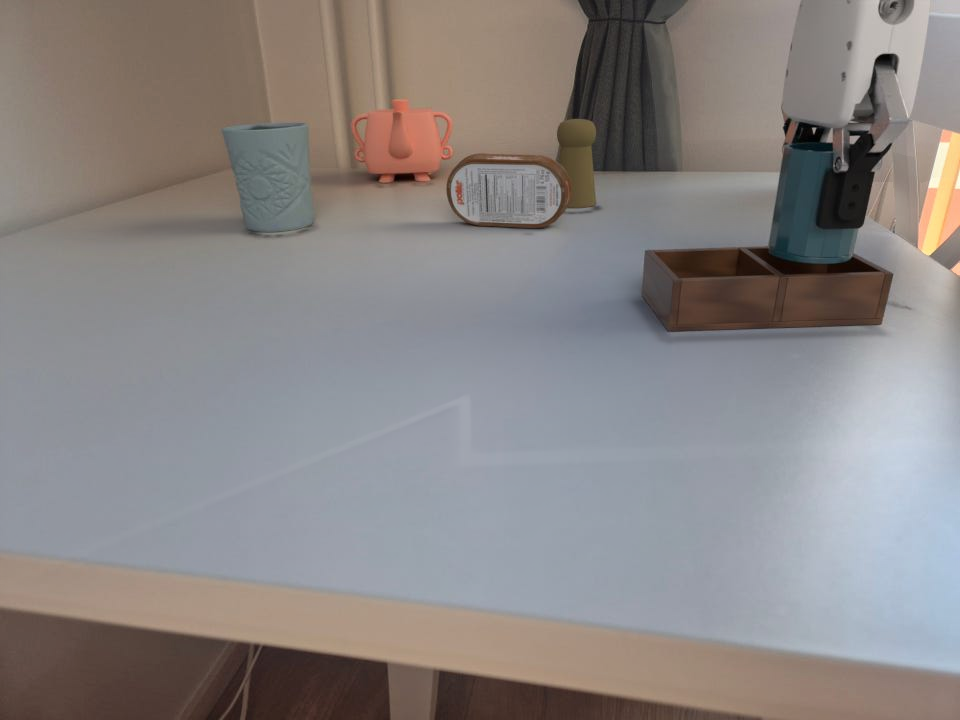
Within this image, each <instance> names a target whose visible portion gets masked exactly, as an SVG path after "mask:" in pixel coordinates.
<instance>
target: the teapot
mask: <svg viewBox="0 0 960 720" xmlns="http://www.w3.org/2000/svg"><path fill="white" fill-rule="evenodd" d="M409 101H410V100H409V99H407V98H397V99H392V100H391V101H390V102H391V105H392V107H393V108H391V109H390V108H388V109H373V110H371V111H368V113H360V114H358V115H356V116H355V117H354V118H352V121H351V123H350V130H351V131H350V132H351V135H352V136H353V138H354V140H355V142H356V143H357V145H358V146H359V148H356V149H355V150H354V154H353V155H354V158H355V160H356V161H357V162H359V163H364V164H365V166H366V169H367V172H368V173H369V174H377V175H379V174H380V177H379V179H378V183H382V184H384V183H388V184H389V183H393V182H394V181H395V177H396V176H397V174H413V176H414V180H415V182H429V181H431V178H430V175H432V172H433V173H434V172H437V171H439V169H440V166H441V162H442V160H443V161H445V160H450V159H451V158H452V157H453V154H454V150H453V147H452V146H451V145H448V142H449V139H450V137H451V134H452V131H453V126H454V125H453V120H452V118H451V116H449V114H447V113H445V112H444V111H440V110H436V111H434V110H433V108H430V107H426V108H425V107H422V108H419V107H417V108H410V102H409ZM436 118H442V119H444V120H445V121H446V131H445V133H444V135H443V137H442V139H441V136H440V130H439V126H438V123H437V119H436ZM362 120H366V122H365V123H366V124H365V130H364V138H363V139H364V141H363V140H362V138H361V136H360V134H359V132H358V128H357V124H358V122H360V121H362ZM445 150H448V153H447V154H446V153H445ZM360 153H362V154H363V156H360Z"/></svg>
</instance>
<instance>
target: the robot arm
mask: <svg viewBox="0 0 960 720" xmlns="http://www.w3.org/2000/svg"><path fill="white" fill-rule="evenodd" d="M931 3H932V0H800V2H799V5H798V10H797V15H796V19H795V23H794V28H793V33H792V38H791V42H790V49H789V53H788V57H787V64H786V68H785V74H784V75H785V76H784V80H783V81H784V82H783V89H782V101H781V107H780V108H781V109H780V110H781V113H782V114H781V115H782V118H783V122H784V123H783V126H782V130H783V134H784V141H783V142H782V143H783V144H782V147H781V153H782V154H783V148H784V145H786V144H790V143H800V142H828V138H829V135H830V133H831V130H832V142H833V170H834V171H826V173H825V178H824V183H823V189H822V194H821V199H820V205H819V210H818V215H817V221H816V225H817V227H819V228H821V229H857V228H859V229H860V228H862V227H863V226H864V224H865V220H866V216H867V211H868V207H869V203H870V202H869V201H870V197H871V193H872V188H873V184H874V179H875V174H876V173H878V172H879V171H880V170H881V168H882V164H883V158H884V157H885V156H886V154H887V153H888V152H889V151H890V150H891V148H892V147H893V143H894V142H895V141H896V140H897V138H898V137H900V136H901V134H902V133H903V132H904V131H905V129H906V128H907V127H908V125H909V122H910V118H911V115H912V112H913V109H914V106H915V101H916V96H917V91H918V88H919V87H918V86H919V81H920V76H921V71H922V65H923V60H924V53H925V48H926V47H925V46H926V41H927V36H928V28H929V22H930V21H929V20H930V11H931V5H932V4H931ZM814 129H815V130H814ZM850 137H858V138H857V139H856V140H855V142H854V143H852V144H853V146H852V147H851V148H850V143H851V139H850ZM782 154H781V155H782Z"/></svg>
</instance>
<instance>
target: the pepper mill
mask: <svg viewBox="0 0 960 720" xmlns="http://www.w3.org/2000/svg"><path fill="white" fill-rule="evenodd" d="M556 138H557V142H558V143H559V146H560V149H559V156H558V161H557V162H558V163H559V164H560V165H561V166H562V167H563V168H564V169H565V171H566V172H567V174H568V176H569V179H570V182H571V199H570V202H569V205H568V207H567V208H566V209H568V208H569V209H580V208H581V209H582V208H590V207H593V206H596V204H597V196H596V185H595V172H594V162H593V160H594V159H593V151H592V148H593V147H592V145H593V144H594V142H595V141H596V138H597V127H596V124H594V122H593V121H591V120H589V119H584V118H583V119H582V118H571V119H566V120H563V121H561V122H560V123H559V125H558V126H557V130H556Z"/></svg>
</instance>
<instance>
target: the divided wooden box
mask: <svg viewBox="0 0 960 720" xmlns="http://www.w3.org/2000/svg"><path fill="white" fill-rule="evenodd" d="M893 278H894V273H893V272H891V271H890V270H887V269H885V268H884V267H882V266H880V265H877V264H876V263H874V262H872V261H870V260H868V259H866V258H864V257H862V256H860V255H858V254H856V253H855V252H853V254H852V258H851V259H850V260H848V261H846V262H842V263H835V264H810V263H801V262H794V261H789V260H785V259H781V258H778V257H776V256H773V255H772V254H770V253H769V252H768V245H766V246H764V245H763V246H761V245H759V246H729V247H700V248H696V247H695V248H671V249H670V248H669V249H668V248H667V249H645V250H644V257H643V271H642V284H641V294H640V295H641V296H642V298H643V300H644V301H645V302H646V303H647V305H648V306H649V307H650V309H651V310H652V311H653V312H654V314H655V316H656V317H657V318H658V319H659V321H660V323H662V325H663V326H664V327H665V329H666V330H667V332H687V331H692V332H693V331H717V330H718V331H719V330H722V331H723V330H749V329H779V328H780V329H781V328H810V327H811V328H812V327H836V326H837V327H838V326H840V327H841V326H867V325H868V326H871V325H873V326H874V325H882V324H883V320H884V317H885V312H886V307H887V304H888V300H889V295H890V291H891V287H892V283H893Z"/></svg>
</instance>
